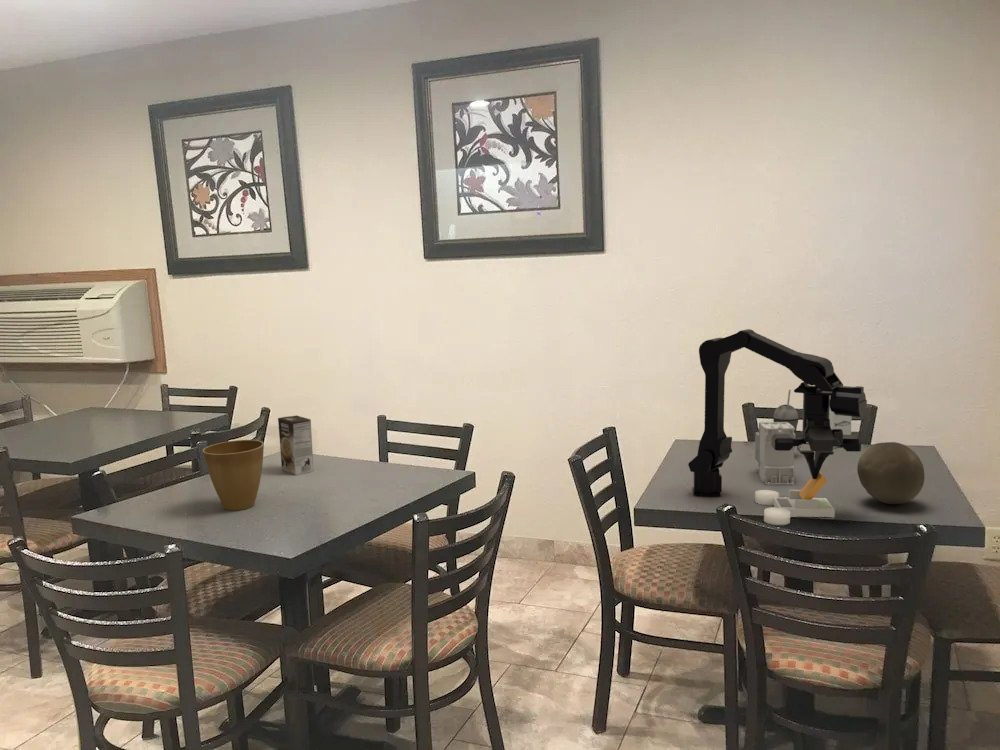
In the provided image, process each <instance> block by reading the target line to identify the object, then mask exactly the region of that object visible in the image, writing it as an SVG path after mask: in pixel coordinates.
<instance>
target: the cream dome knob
mask: <svg viewBox="0 0 1000 750" xmlns="http://www.w3.org/2000/svg"><path fill="white" fill-rule="evenodd" d="M773 497H780V493H779V492H777V491H775V490H770V489H759V490H755V492H754V502H756V504H757V503H758V505H760V504H762V505H761V506H766V505H772V506H773Z"/></svg>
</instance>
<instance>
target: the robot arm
mask: <svg viewBox="0 0 1000 750" xmlns="http://www.w3.org/2000/svg"><path fill="white" fill-rule="evenodd" d="M744 348H745V349H747V350H749V351H751V352H752V353H755V354H757V355H759V356H761V357H764V358H766V359H768V360H770V361H772V362H774V363H775V364H776V363H777V364H778V365H781V366H782V367H784V368H786V369H788V370H789V371H790V372H791V373H792V374H793V375H794V376H795V377H797V378H798V379H799V380H800V381H802V382H800V384H799V386H798V387H796V388H795V389H794V390H793V392H794V393H797V394H798V393H799V394H803V395H802V432H801V437H799V438H798V437H797V438H792V437H791V436H790V435H789V434H774V435H773V436H772V440H771V445H772V447H773V448H774V449H775V450H777V451H790V450H791V449H792V448H793V446H795V447H796V450H797V451H798V453H800V455H803V456H804V458H805V461H806V463H807V467H808V470H809V472H810V475H811V478H813V479H817V476H818V474H819V472H821V468H822V466H823V464H824V462H825V460H826V459H827V458H828V457H829V456H830V455H831V456H832V455H834V454H835V452H834V448H833V447H835V448H842V449H843V450H845V451H846V452H857V453H859V452H861V451H862V441H861V440H860V439H859V438H858V437H857V436H856V435H854V434H851V435H843V431H842V429H833V430H831V427H830V419H829V412H830V409H831V412H834V414H835V415H842V416H852V417H853V418H864V417H865V414H866V411H867V404H868V400H867V398H866V393H865V392H864V389H865V388H864V386H861V385H860V386H848V385H845V386H844V383H843V382H842V381H841V380H840V378H839V377H838V375H837V374H836V372H835V371H834V369H835V368H834V365H833V363H832V361H831V360H829V359H828V358H826V357H823V356H818V355H815V354H809V353H804V352H800V351H797V350H794V349H792V348H790V347H788V346H785V345H783V344H781V343H779V342H777V341H775V340H772V339H770V338H768V337H766V336H764V335H762V334H759V333H757V332H755V331H754V330H753V329H751V328H747V329H741V330H738V331H737V332H735V333H733V334H731V335H727V336H725V337H716V338H710V339H707V340H704V341H703V342H702V343H701V344H700V346H699V347H698V356H699V362H700V367H701V368H702V371H703V372H704V376H705V379H704V380H705V382H704V383H705V384H704V430H703V433H702V436H701V438H700V440H699V443H698V449H697V455H696V456H694V458H692V459H691V460H690V461H689V462H688V468H689V471H690V472H692V474H693V475H692V476H693V477H692V478H693V479H692V480H693V482H692V484H693V486H692V488H691V489H692V493H693V496H695V497H698V496H699V497H700V496H701V497H704V496H705V497H721V493H722V488H723V485H722V484H723V482H722V481H723V477H722V474H721V473H720V468H723V466H724V464H725V463H724V462H726V461H727V460H728V459H729V457H730V454H731V453H733V449H732V442H733V437H732V436H727V434H726V432H725V427H724V423H725V422H724V421H725V384H726V383H725V379H726V377H725V375H726V372H727V370H728V367H729V366H730V363H731V358H732V353H734V352H736V351H738V350H741V349H744Z"/></svg>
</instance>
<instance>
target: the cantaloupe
mask: <svg viewBox="0 0 1000 750" xmlns="http://www.w3.org/2000/svg"><path fill="white" fill-rule="evenodd" d="M856 468H857V469H856V470H857V476H858V478H859V481H860V484H861V486H862V487H863V488H864V489H865V491H866V492H867V493H868V494H869V495H870V496H871V497H872V498H873V499H875V500H877V501H879V502H881V503H883V504H887V505H902V504H905V503H908V502H911V500H913V499H914V498H916V497H917V496H918V495H919V493H920V492H921V491H922V489H923V487H924V483H925V479H926V477H925V468H924V465H923V462H922V460H921V459H920V456H918V454H917V453H916V452H915V451H914V450H912V449H911V448H910V447H908V446H907V445H905V444H903V443H900V442H895V441H890V442H889V441H887V442H886V441H885V442H878V443H874V444H872V445H870V446H869V447H868V448H867V449H865V450H864V451H863V453H862V454H861V455H860V457H859V459H858V463H857V467H856Z"/></svg>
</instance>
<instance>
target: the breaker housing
mask: <svg viewBox="0 0 1000 750" xmlns="http://www.w3.org/2000/svg"><path fill="white" fill-rule="evenodd" d="M801 490H802V489H788V497H780V496H779V497H773V505H774V506H773V505H772V506H773V507H777V508H783V509H787V510H789V511H790V518H791V517H796V516H822V517H824V516H826V517H835V514H836V510H835V508H834V507H833V506H832V504H831V503H830V502H829V500H828V499H827V498H826V497H813V498H812V500H810V499H800V497H799V492H800V491H801ZM835 518H836V517H835Z"/></svg>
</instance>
